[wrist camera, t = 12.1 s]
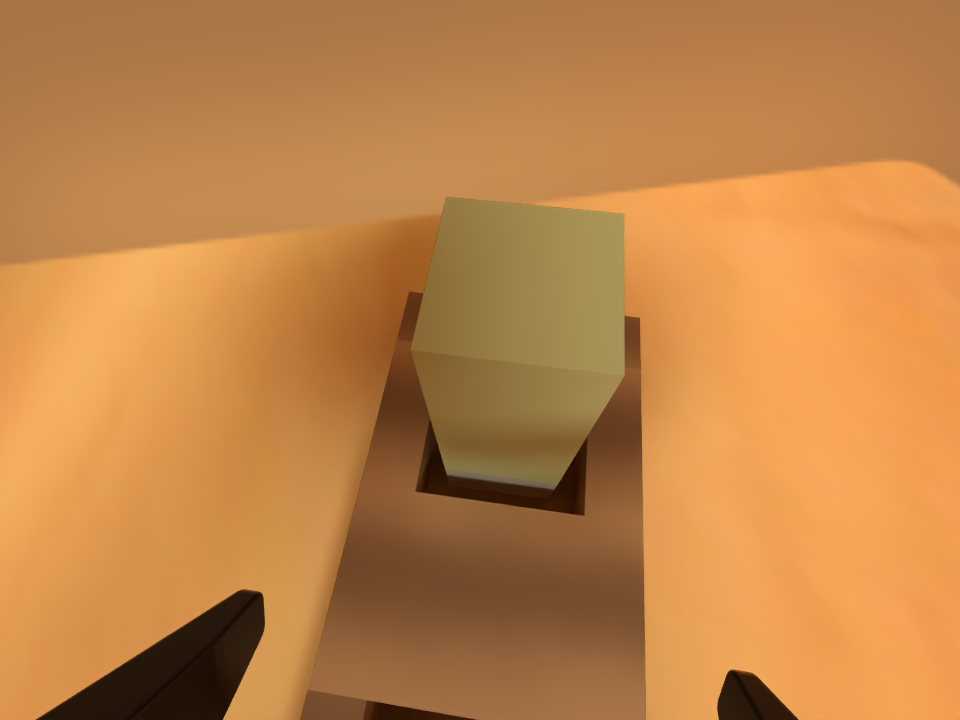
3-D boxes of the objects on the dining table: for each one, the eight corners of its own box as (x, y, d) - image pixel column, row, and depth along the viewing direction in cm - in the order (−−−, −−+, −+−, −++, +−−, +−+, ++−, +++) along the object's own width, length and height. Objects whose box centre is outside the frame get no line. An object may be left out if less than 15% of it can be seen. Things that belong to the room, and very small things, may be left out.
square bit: (548, 499, 21) (624, 375, 10) (449, 485, 22) (410, 350, 10) (554, 406, 23) (624, 213, 12) (464, 395, 24) (445, 196, 12)
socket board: (620, 959, 15) (650, 1037, 12) (283, 888, 16) (241, 948, 13) (623, 348, 25) (640, 317, 22) (417, 324, 26) (409, 291, 23)
